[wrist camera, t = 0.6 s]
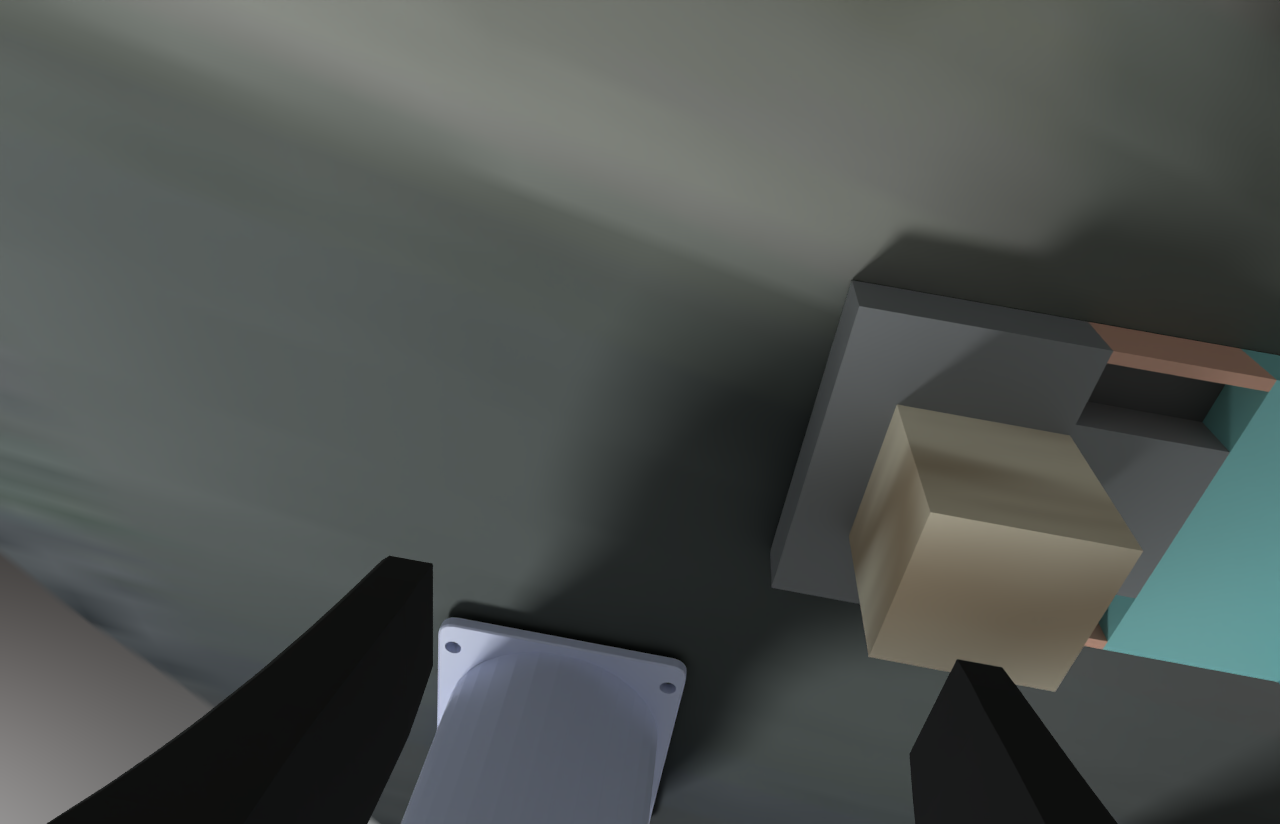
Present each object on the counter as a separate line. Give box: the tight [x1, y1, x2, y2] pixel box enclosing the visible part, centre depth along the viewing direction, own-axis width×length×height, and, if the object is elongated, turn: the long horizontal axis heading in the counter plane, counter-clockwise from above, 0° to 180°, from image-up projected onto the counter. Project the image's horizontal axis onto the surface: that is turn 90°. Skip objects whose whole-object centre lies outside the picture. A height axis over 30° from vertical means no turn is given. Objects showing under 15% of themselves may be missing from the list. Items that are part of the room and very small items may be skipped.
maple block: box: [849, 405, 1143, 692], centre depth 18 cm, size 4×4×4 cm
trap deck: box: [770, 280, 1280, 684], centre depth 19 cm, size 14×8×4 cm, turn 82°
